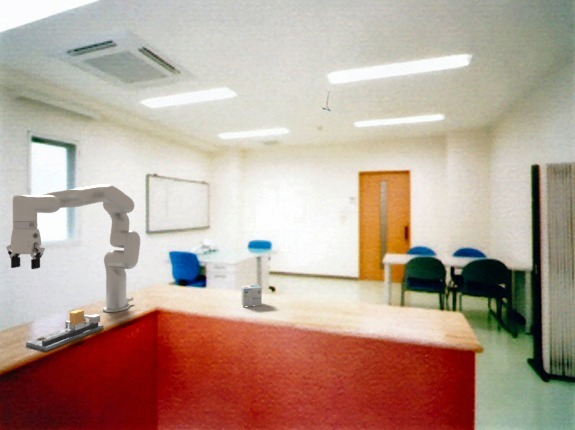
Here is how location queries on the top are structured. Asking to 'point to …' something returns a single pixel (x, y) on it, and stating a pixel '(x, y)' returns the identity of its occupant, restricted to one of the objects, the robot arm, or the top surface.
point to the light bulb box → (251, 295)
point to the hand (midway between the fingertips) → (25, 267)
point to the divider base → (63, 341)
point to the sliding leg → (76, 320)
